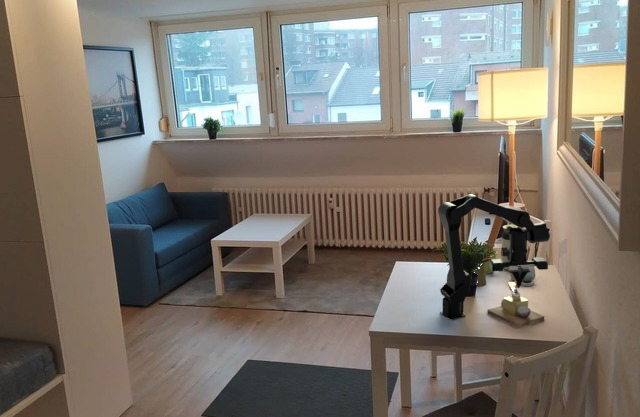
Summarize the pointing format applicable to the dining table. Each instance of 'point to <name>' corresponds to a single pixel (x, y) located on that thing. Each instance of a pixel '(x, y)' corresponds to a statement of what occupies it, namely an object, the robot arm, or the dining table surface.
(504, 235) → the travel mug
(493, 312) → the valve board
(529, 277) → the ceramic mug
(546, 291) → the dining table surface
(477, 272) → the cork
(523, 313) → the ball valve
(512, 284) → the valve lever
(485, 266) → the plant pot
